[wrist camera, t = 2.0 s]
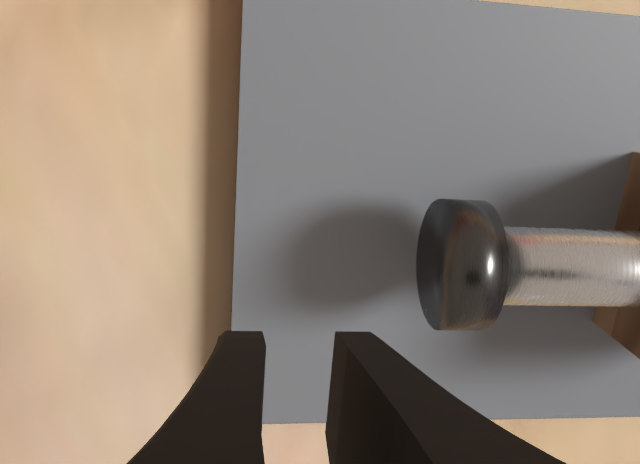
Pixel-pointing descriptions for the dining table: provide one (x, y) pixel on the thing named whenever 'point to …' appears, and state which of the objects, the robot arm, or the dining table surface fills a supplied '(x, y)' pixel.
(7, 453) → the dining table surface
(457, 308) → the shaft
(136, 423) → the dining table surface
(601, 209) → the base board
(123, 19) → the dining table surface
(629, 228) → the bearing block
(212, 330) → the dining table surface
